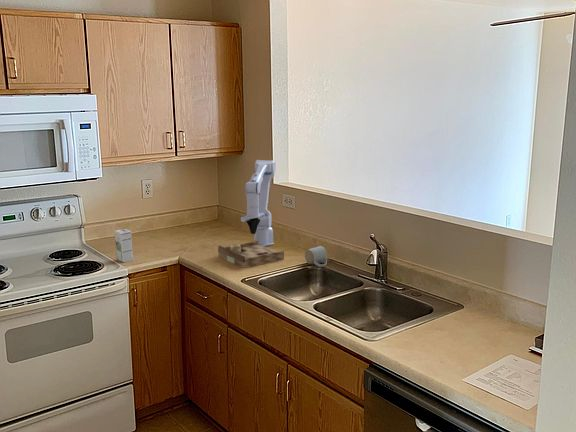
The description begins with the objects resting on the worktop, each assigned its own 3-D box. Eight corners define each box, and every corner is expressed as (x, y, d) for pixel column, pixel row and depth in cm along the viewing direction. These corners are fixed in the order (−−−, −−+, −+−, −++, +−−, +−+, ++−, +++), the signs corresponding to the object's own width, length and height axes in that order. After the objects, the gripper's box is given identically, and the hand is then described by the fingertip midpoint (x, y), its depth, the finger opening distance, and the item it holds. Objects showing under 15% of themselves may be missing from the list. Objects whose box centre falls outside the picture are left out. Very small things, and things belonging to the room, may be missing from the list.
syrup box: (133, 260, 271) (131, 230, 267) (122, 262, 267) (120, 232, 263) (127, 257, 275) (125, 228, 271) (116, 260, 271) (114, 230, 267)
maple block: (239, 252, 274) (239, 243, 273) (241, 255, 270) (240, 246, 269) (230, 253, 273) (229, 244, 272) (231, 256, 269) (231, 246, 268)
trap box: (257, 248, 290) (257, 238, 289) (284, 258, 273) (284, 247, 272) (218, 256, 277) (218, 245, 275) (243, 268, 260) (243, 256, 258)
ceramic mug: (303, 262, 268) (303, 246, 266) (317, 259, 272) (318, 244, 271) (316, 268, 260) (317, 252, 258) (331, 265, 264) (331, 249, 262)
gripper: (257, 202, 285) (257, 229, 289) (236, 207, 275) (236, 234, 278) (267, 204, 281) (267, 231, 284) (246, 209, 270) (246, 237, 273)
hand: (253, 233), depth 281 cm, fingers closed
